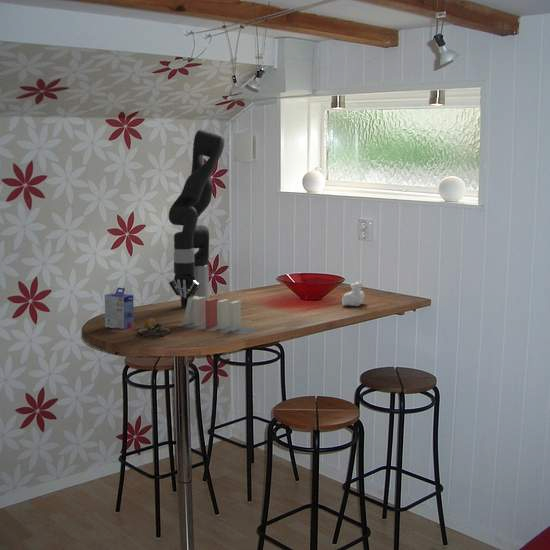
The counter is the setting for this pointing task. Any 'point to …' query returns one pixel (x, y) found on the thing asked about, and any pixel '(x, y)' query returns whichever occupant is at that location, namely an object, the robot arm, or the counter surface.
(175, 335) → the counter surface
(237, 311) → the domino
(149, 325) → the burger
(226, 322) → the domino
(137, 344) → the counter surface
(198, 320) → the domino
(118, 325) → the ink cartridge box
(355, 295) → the duck figurine
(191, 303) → the domino
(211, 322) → the red domino
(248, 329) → the mat
